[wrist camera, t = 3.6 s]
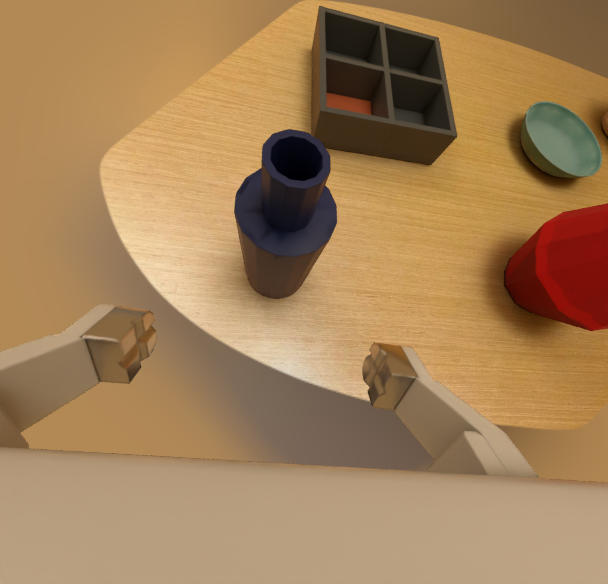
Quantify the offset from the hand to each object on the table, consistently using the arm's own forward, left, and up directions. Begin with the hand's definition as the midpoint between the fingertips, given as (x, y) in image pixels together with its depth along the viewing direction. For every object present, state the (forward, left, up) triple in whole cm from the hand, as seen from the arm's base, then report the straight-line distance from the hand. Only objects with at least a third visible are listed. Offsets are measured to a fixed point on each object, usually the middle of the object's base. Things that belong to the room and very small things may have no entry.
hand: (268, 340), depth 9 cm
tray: (+14, +35, -16) cm, 41 cm away
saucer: (+46, +33, -16) cm, 59 cm away
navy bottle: (+1, +8, -16) cm, 18 cm away
